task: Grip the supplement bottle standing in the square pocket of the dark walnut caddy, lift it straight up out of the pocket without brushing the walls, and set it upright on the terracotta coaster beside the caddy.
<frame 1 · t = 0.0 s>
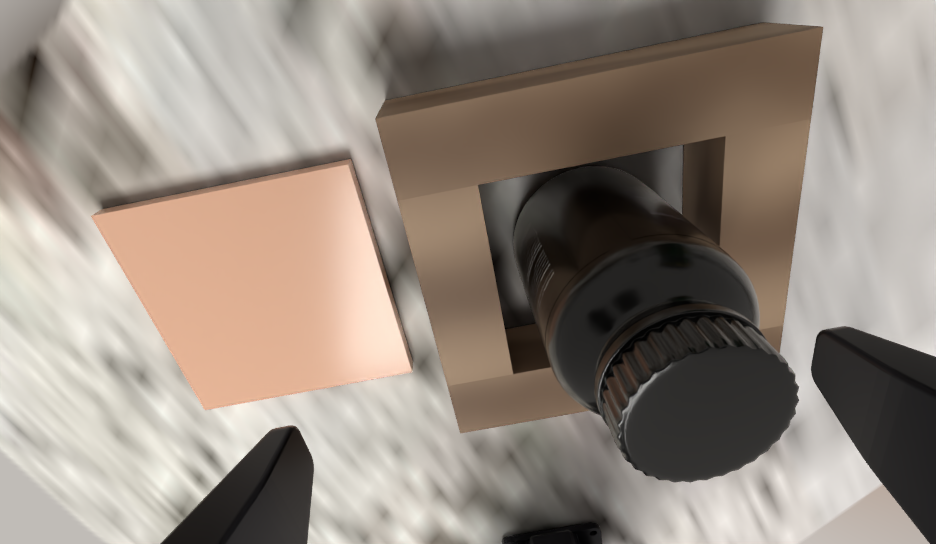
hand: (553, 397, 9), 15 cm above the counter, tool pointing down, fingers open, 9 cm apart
supplement bottle: (584, 231, 24), resting in walnut caddy
terracotta coaster: (272, 293, 24), on the counter
walnut caddy: (585, 233, 24), on the counter
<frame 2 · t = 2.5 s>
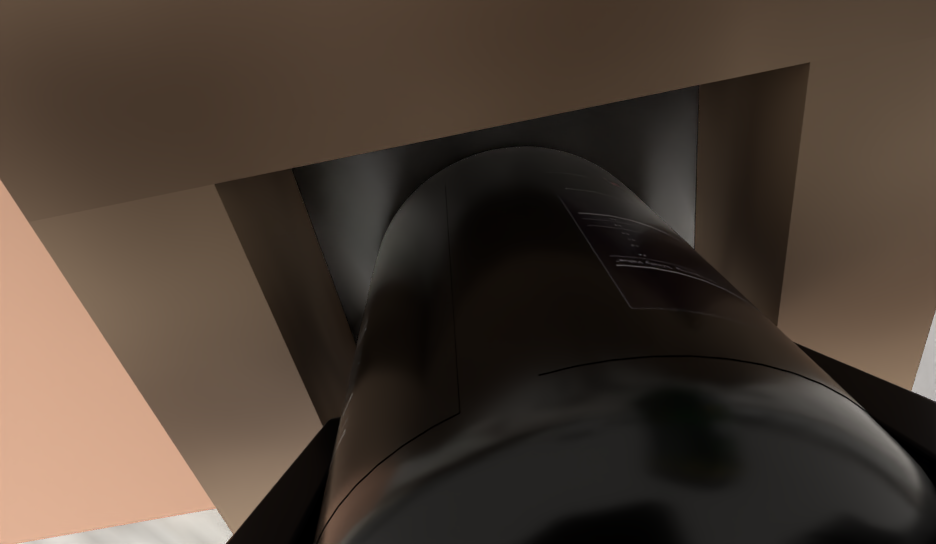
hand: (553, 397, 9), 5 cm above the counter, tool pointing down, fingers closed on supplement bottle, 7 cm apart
supplement bottle: (514, 269, 13), resting in walnut caddy, touching gripper
walnut caddy: (515, 273, 13), on the counter
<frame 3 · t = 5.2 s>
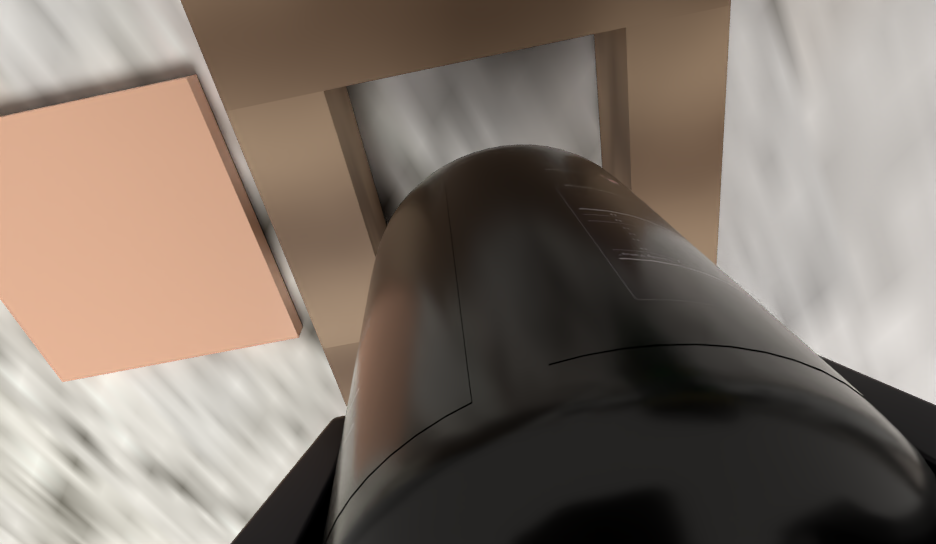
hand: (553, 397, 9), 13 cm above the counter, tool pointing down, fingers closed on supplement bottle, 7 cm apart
supplement bottle: (512, 267, 13), point 8 cm above the counter, touching gripper
terracotta coaster: (126, 242, 21), on the counter
walnut caddy: (488, 170, 20), on the counter
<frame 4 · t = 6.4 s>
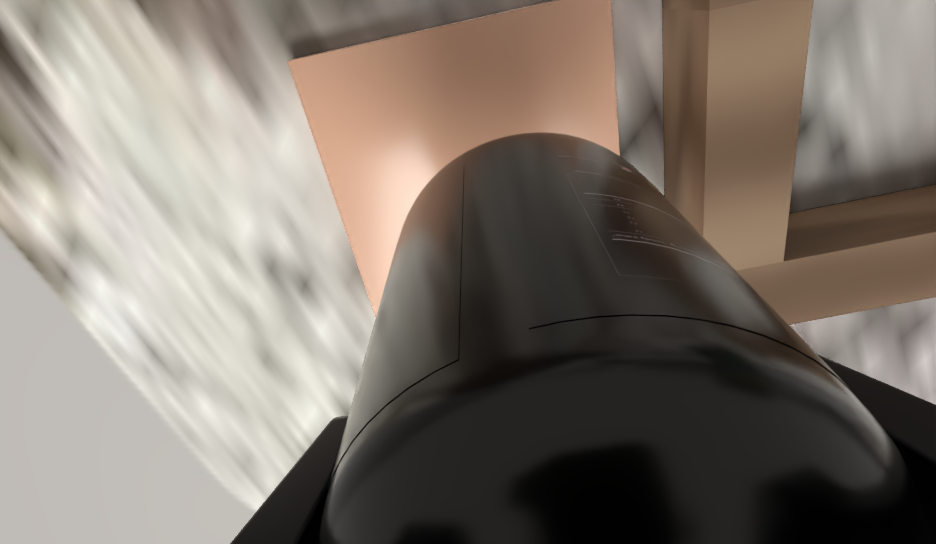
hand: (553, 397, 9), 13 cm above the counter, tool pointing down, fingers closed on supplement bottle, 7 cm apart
supplement bottle: (531, 252, 13), point 8 cm above the counter, touching gripper
terracotta coaster: (475, 175, 20), on the counter
walnut caddy: (859, 94, 19), on the counter
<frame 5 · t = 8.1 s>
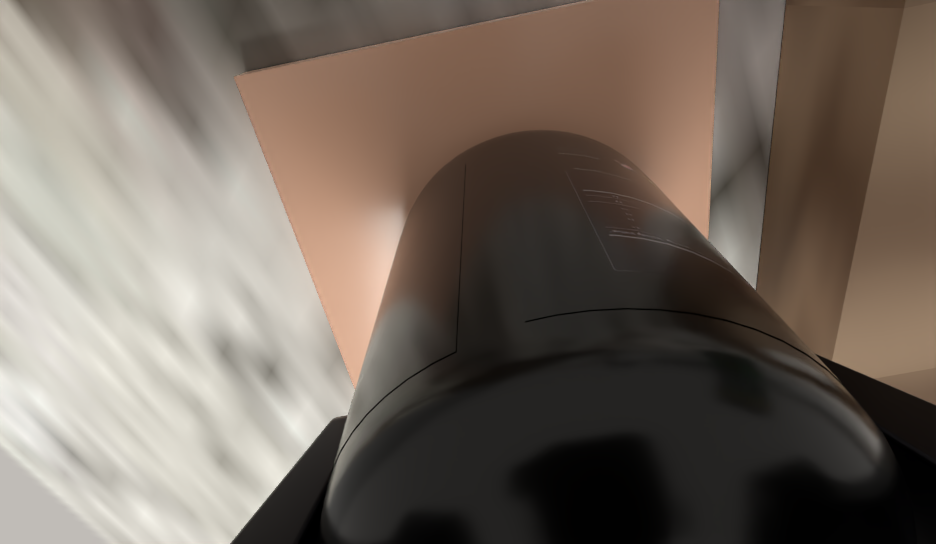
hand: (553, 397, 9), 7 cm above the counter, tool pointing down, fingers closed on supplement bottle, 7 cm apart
supplement bottle: (533, 249, 14), point 1 cm above the counter, touching gripper
terracotta coaster: (504, 233, 15), on the counter
when the fingers open (7 cm above the counter, at t = 8.9 s): supplement bottle stays where it is, resting on terracotta coaster.
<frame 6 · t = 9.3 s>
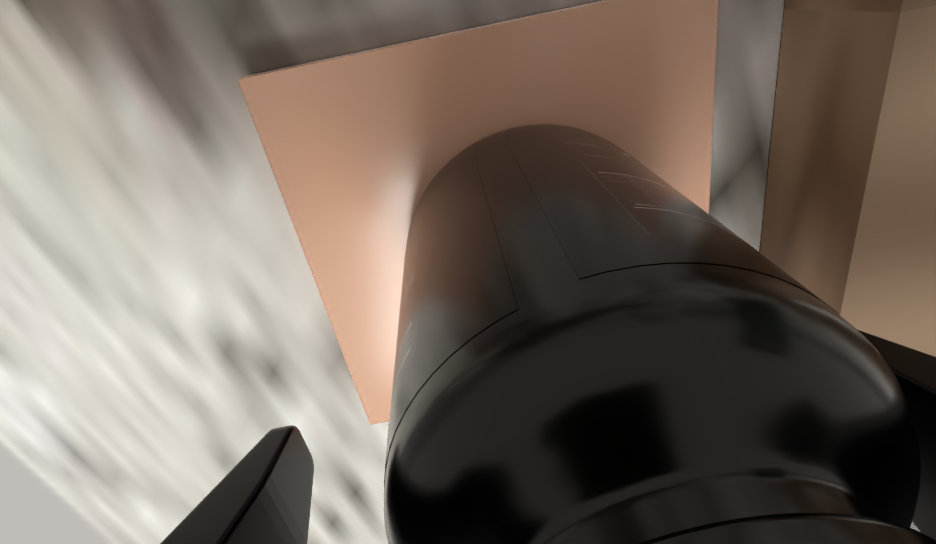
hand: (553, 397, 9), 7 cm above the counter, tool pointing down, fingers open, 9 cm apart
supplement bottle: (532, 239, 14), point 1 cm above the counter, touching terracotta coaster
terracotta coaster: (505, 234, 15), on the counter
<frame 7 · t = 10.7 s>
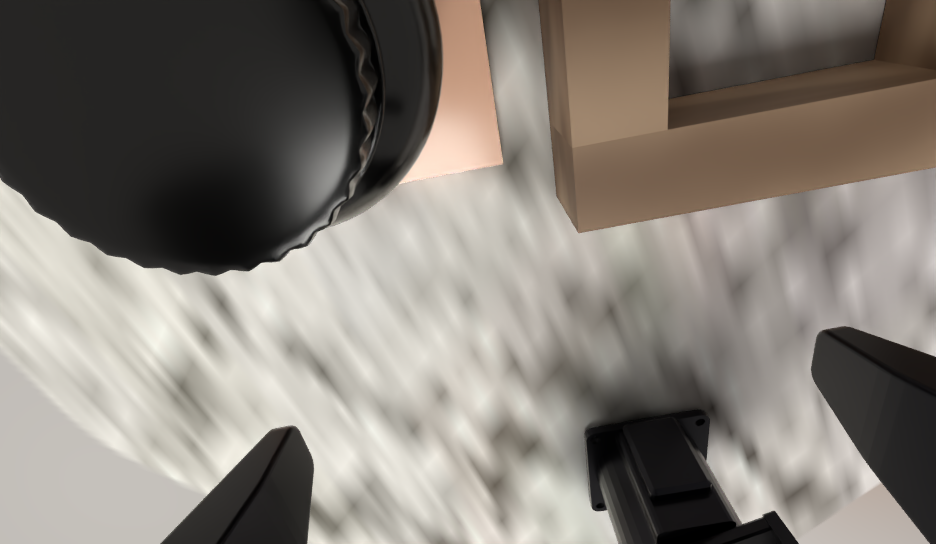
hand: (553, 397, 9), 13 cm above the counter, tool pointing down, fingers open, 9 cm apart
supplement bottle: (332, 28, 16), point 1 cm above the counter, touching terracotta coaster
terracotta coaster: (315, 29, 17), on the counter
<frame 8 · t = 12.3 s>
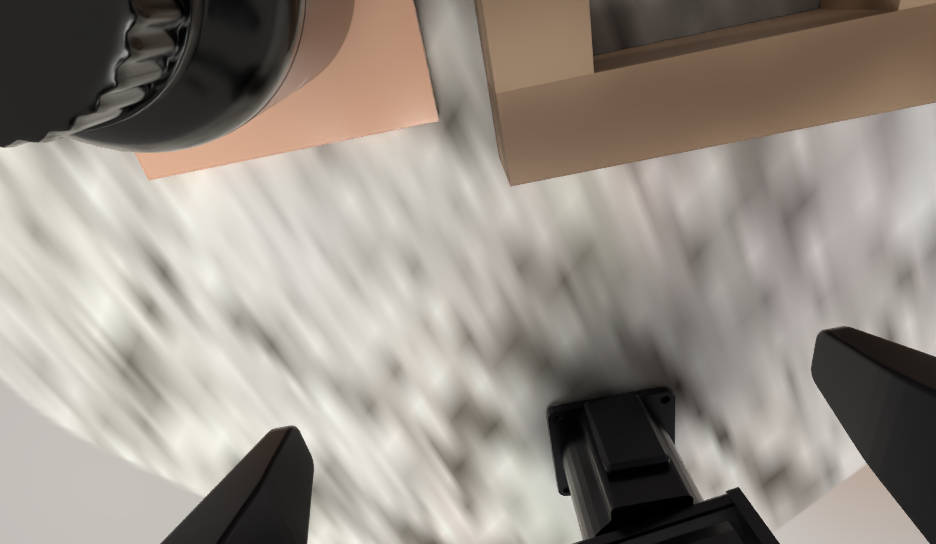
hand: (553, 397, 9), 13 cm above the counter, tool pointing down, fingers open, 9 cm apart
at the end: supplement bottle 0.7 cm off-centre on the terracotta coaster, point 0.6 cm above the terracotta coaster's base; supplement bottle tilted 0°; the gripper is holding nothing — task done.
